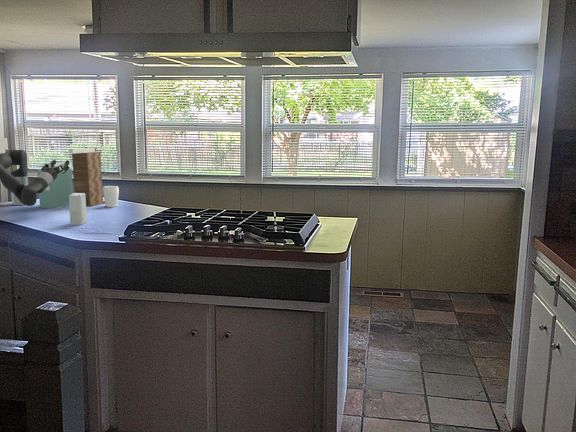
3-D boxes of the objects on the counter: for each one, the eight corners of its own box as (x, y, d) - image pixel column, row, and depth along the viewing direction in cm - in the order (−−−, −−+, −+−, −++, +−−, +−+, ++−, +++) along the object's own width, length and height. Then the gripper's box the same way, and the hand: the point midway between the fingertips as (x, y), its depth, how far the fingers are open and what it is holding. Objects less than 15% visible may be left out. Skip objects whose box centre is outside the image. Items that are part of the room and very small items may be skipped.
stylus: (72, 153, 301) (72, 149, 301) (69, 153, 302) (68, 149, 301) (96, 151, 324) (96, 147, 324) (93, 151, 325) (93, 147, 324)
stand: (90, 206, 312) (87, 153, 307) (72, 206, 315) (69, 152, 309) (105, 203, 328) (102, 151, 322) (88, 202, 330) (85, 151, 325)
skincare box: (75, 222, 262) (73, 192, 259) (87, 222, 262) (85, 192, 260) (69, 225, 254) (67, 194, 251) (82, 225, 254) (80, 194, 252)
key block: (54, 208, 306) (51, 170, 302) (39, 207, 308) (36, 170, 305) (73, 204, 324) (71, 168, 320) (59, 203, 326) (57, 168, 322)
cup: (103, 205, 317) (102, 186, 315) (118, 204, 321) (117, 185, 319) (104, 207, 309) (103, 187, 307) (120, 206, 313) (119, 187, 311)
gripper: (37, 183, 285) (53, 166, 298) (60, 183, 282) (75, 167, 295) (32, 171, 281) (48, 155, 293) (55, 172, 278) (70, 155, 290)
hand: (61, 161), depth 294 cm, fingers open, 8 cm apart
